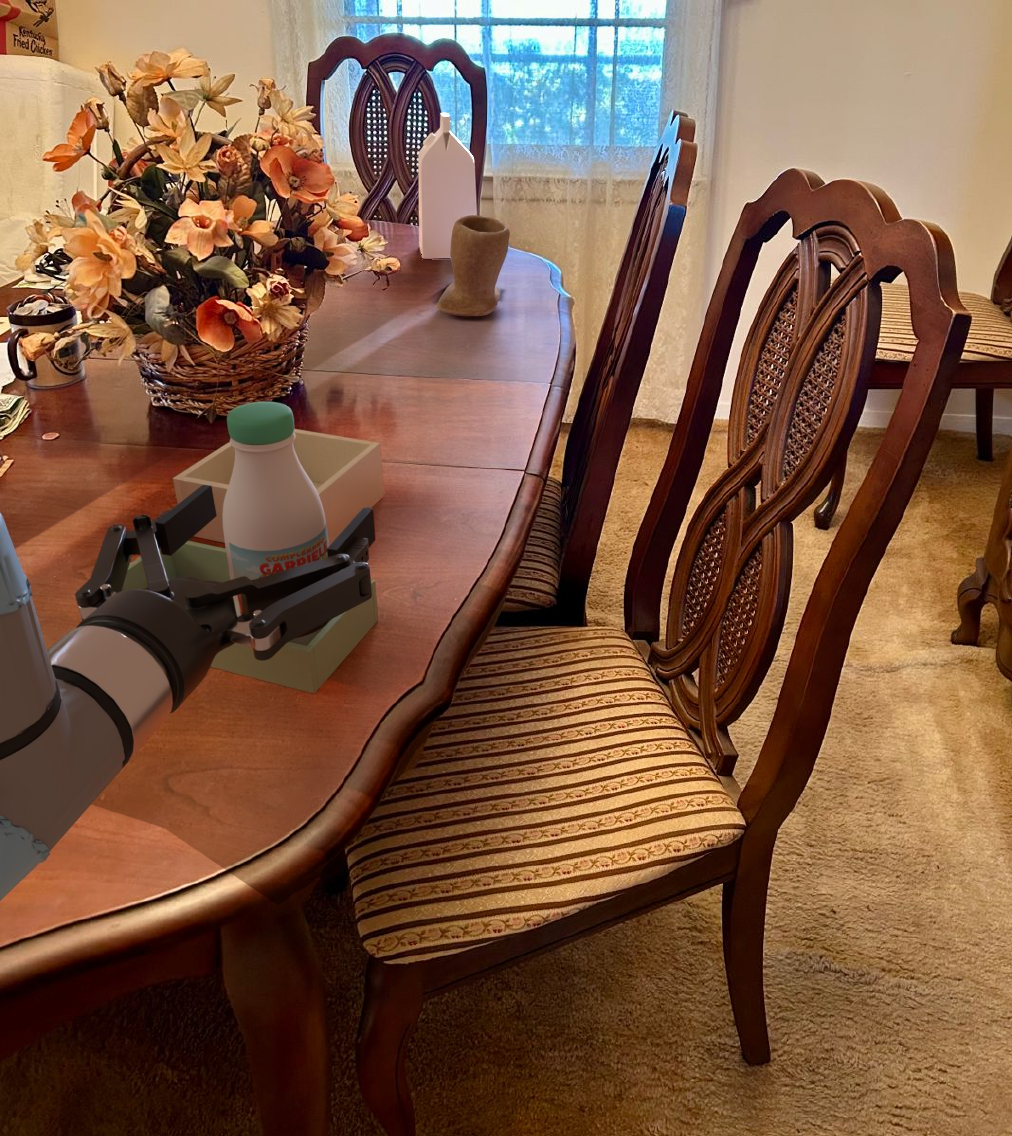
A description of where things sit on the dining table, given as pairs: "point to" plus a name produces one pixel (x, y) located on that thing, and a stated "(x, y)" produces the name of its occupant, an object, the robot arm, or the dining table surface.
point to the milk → (443, 189)
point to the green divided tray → (293, 660)
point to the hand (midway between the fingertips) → (288, 511)
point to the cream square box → (331, 463)
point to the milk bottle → (270, 500)
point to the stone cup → (475, 266)
